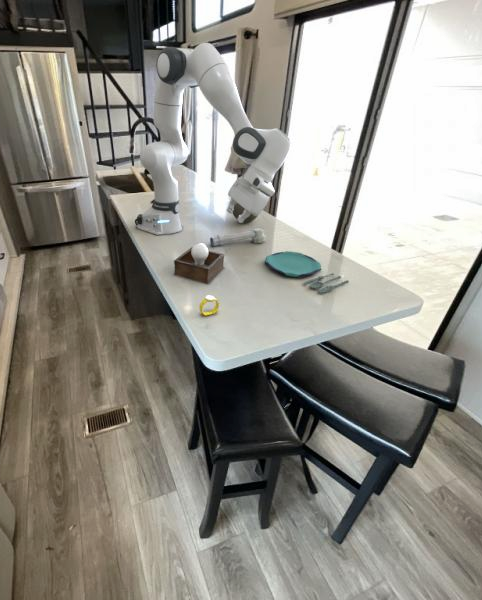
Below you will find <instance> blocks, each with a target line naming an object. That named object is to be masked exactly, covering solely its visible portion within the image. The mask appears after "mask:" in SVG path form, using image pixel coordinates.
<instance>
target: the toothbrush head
mask: <svg viewBox="0 0 482 600" xmlns="http://www.w3.org/2000/svg"><path fill="white" fill-rule="evenodd" d="M266 237H267V235H266V233H264V229H263V228H262V227H256V228H254V229H252V230H247V231H239V232H234V233H227V234H221V235H219V234H217V235H216V236H211V237H210V238H209V242H210V246H211V247H213V248H214V247H216V246H219V247H221V245H226V244H231V243H234V242H238V241H243V240H244V241H245V240H248V239H251V241H252V243H253V244H262V243H263V242H265V239H266Z"/></svg>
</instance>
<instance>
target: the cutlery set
mask: <svg viewBox="0 0 482 600" xmlns="http://www.w3.org/2000/svg"><path fill="white" fill-rule="evenodd" d="M264 263H265V265H266V264H267V265H268V266H269V267H270V268H271V269H272V270H274V271H277V272H278V273H281V274H284V275H285V276H287V277H293V278H297V277H302V276H303V277H305V276H311V275H313V274H316V273H318V272H320V271H322V264H321V262H320V261H317V260H316V259H314V258H313V257H311V256H309V255H307V254H303V253H302V252H298V251H297V252H296V251H288V250H287V251H279V252H273V253H271V254H270V255H267V256H266V257H265V258H264ZM334 275H335V273H333V272H332V273H330V274H325V275H320V276H318V277H316V278H311V279H308V280H305V281H304V283H303V284H304V285H305V284H306V285H307V284H309V283H310V284H309V287H310V288H313V289H318V290H317V292H318V293H319V294H323V293H327V292H331V291H332V289H334V288H338V287H341V286H343V285H345V284H349V283H350V281H349V280H348V279H346V280H344V281H342V282H339V283H337V284H333V285H326V286H324V285H325V284H327V283H331V282H333V281H336V280H339V279H342V276H340V275H338V276H335V277H332V278H330V279H328V280H325V281H323V282H321V280H323V279H324V278H327V277H329V276H334ZM318 280H319V281H318ZM323 286H324V287H323Z"/></svg>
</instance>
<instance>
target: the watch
mask: <svg viewBox="0 0 482 600" xmlns="http://www.w3.org/2000/svg"><path fill="white" fill-rule="evenodd" d="M214 301H215V305H214V308H213V309H212V310H210V311H203V308H204V306H205V304H207V303H208V302H210V303H213V302H214ZM219 307H220V302H219V301H218V299H217V298H216V297H215V296H214V295H212V294H208V295H205V297H204V299H203V300H201V302H200V303H199V308H198V309H199V312H200V313H201V314H202V315H203V316H210V315H214V314H216V312H218V309H219Z"/></svg>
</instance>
